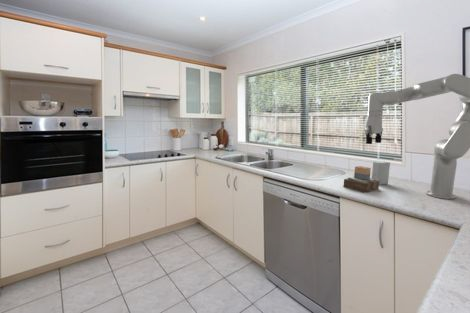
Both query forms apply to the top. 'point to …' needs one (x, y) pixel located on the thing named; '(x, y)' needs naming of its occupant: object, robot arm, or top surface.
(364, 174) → the block
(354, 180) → the walnut stand
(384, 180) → the skincare box
